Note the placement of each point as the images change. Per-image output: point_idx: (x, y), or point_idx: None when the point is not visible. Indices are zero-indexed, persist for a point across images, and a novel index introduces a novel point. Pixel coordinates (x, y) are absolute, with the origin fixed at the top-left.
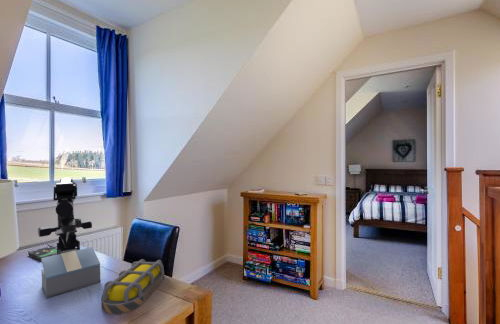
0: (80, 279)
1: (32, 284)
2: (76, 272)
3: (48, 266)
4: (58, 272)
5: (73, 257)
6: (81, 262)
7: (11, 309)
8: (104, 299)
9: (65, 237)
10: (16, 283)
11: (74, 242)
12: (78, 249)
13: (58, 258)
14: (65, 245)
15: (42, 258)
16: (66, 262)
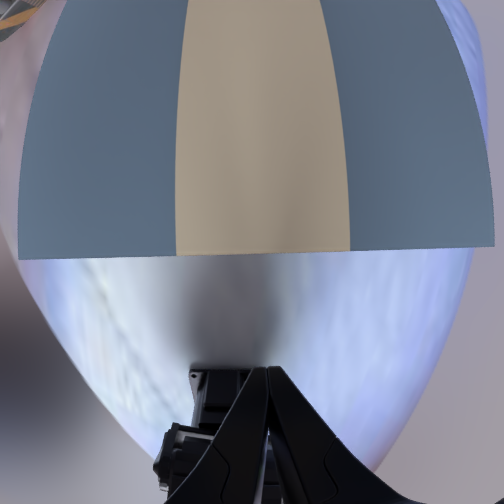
0: None
1: (401, 262)
2: None
3: (448, 84)
4: None
5: (224, 103)
6: (173, 14)
7: (471, 66)
8: None
9: (308, 496)
10: (430, 316)
11: (182, 469)
12: (169, 430)
13: (383, 159)
14: (286, 384)
15: (490, 235)
16: (309, 50)
